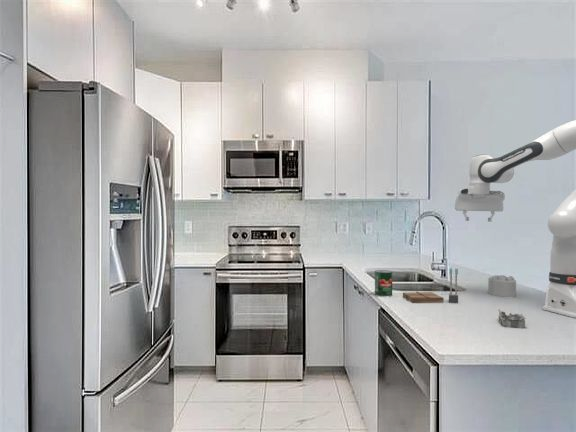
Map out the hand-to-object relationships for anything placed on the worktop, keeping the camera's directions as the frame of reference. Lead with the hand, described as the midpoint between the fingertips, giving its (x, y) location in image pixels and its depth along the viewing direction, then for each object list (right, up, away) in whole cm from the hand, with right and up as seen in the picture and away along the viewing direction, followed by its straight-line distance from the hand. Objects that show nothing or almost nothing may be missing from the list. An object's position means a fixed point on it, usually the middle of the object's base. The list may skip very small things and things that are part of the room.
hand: (478, 221), depth 202 cm
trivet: (-28, -34, -10) cm, 45 cm away
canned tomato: (-43, -34, 0) cm, 55 cm away
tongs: (-17, -34, -16) cm, 41 cm away
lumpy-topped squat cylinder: (+12, -34, +1) cm, 36 cm away
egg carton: (-11, -35, -51) cm, 63 cm away
